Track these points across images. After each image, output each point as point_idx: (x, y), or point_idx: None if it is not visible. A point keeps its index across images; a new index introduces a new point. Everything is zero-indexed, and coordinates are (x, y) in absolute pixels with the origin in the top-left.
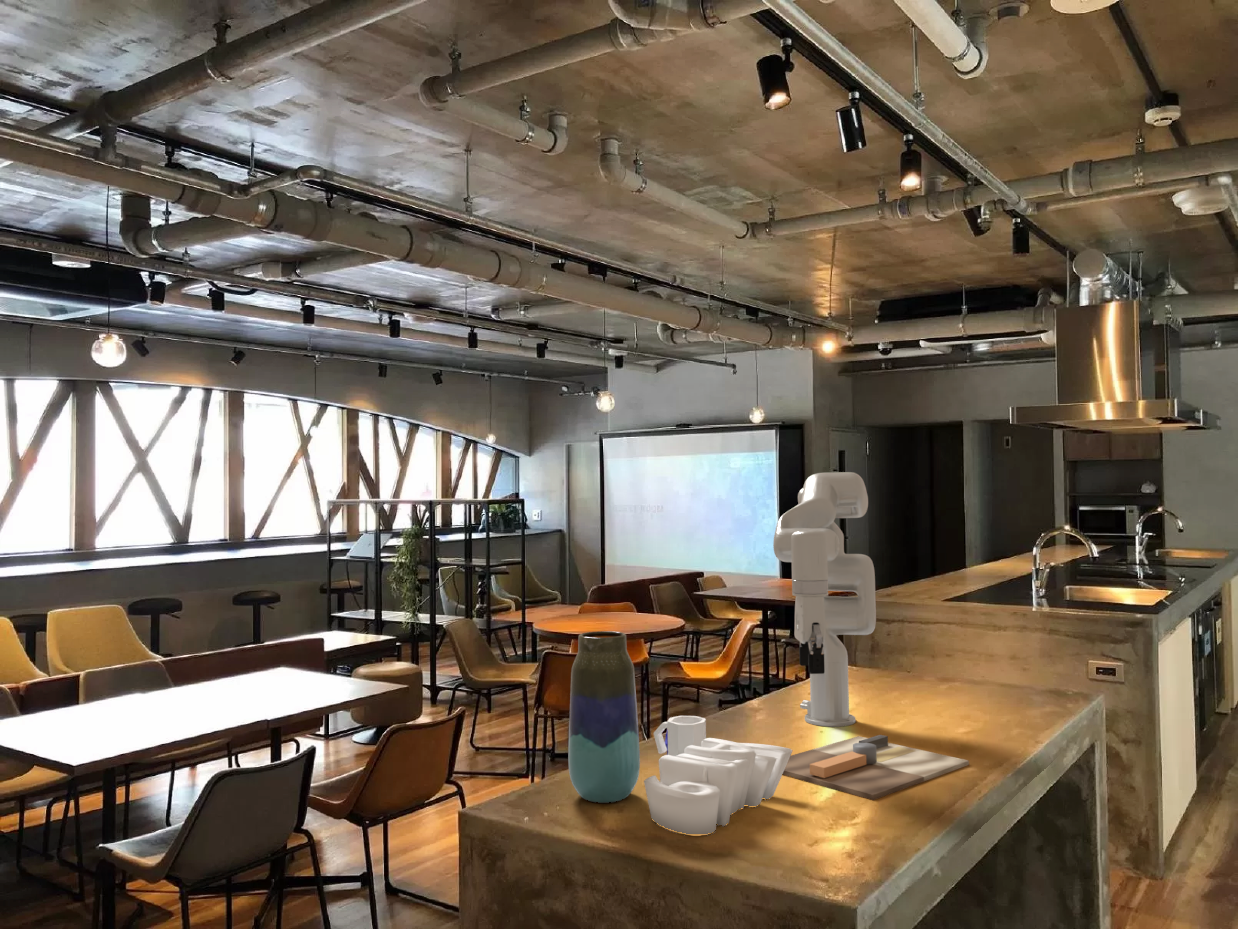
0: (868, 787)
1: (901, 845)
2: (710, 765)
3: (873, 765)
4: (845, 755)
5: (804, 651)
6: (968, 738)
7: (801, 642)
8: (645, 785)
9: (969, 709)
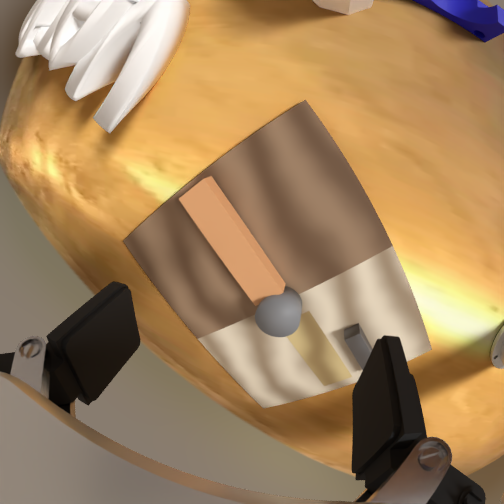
0: (150, 248)
1: (39, 214)
2: (28, 27)
3: None
4: (256, 270)
5: (379, 425)
6: None
7: (14, 381)
8: None
9: None
